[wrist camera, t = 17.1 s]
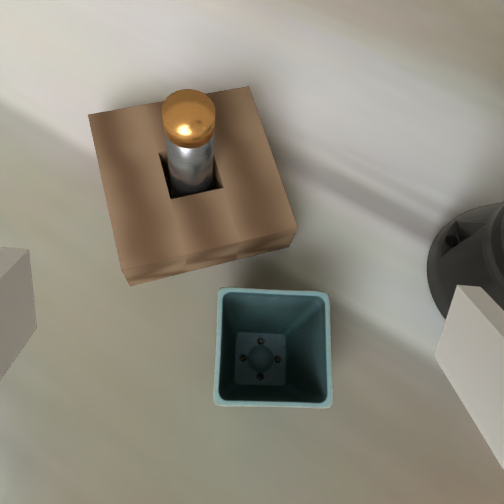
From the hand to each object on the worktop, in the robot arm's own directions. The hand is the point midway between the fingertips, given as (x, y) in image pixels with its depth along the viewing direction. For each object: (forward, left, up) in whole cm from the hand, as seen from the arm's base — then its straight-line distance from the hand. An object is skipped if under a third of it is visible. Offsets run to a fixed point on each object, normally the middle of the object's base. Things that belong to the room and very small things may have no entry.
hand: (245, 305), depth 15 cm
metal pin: (-2, -19, -30) cm, 35 cm away
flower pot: (-4, -1, -30) cm, 30 cm away
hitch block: (-2, -19, -30) cm, 35 cm away
